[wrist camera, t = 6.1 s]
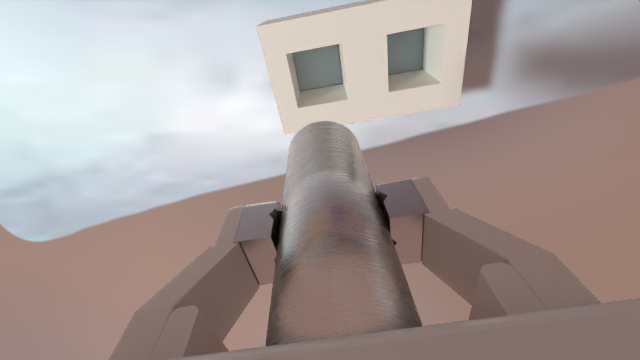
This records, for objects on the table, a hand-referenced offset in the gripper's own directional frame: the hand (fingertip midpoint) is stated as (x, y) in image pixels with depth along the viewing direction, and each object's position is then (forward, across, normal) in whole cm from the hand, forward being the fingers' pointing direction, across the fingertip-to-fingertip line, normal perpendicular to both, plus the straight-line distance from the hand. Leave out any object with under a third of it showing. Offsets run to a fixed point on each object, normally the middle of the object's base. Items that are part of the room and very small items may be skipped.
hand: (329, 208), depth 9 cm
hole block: (+22, -4, 0) cm, 23 cm away
